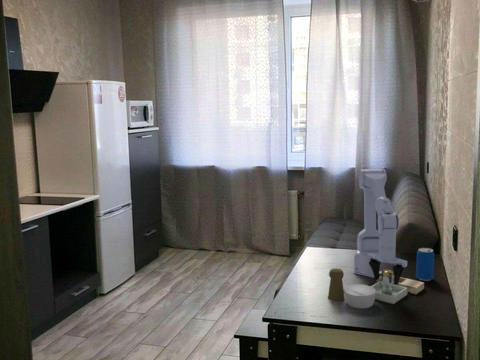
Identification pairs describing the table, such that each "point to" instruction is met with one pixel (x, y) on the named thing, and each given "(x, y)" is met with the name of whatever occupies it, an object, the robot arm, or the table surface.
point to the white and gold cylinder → (387, 282)
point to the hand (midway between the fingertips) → (386, 281)
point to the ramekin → (359, 296)
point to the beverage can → (425, 264)
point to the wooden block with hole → (408, 284)
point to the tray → (396, 296)
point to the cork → (336, 285)
